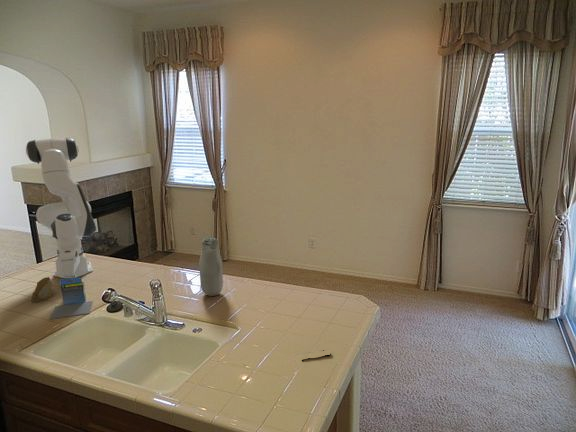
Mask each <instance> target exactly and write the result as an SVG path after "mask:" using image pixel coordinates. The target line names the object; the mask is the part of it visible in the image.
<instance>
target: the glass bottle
mask: <svg viewBox="0 0 576 432" xmlns="http://www.w3.org/2000/svg"><path fill="white" fill-rule="evenodd" d="M200 253H201V254H200V257H199V262H198V263H199V265H198V266H199V267H198V268H199V279H200V281H199V283H200V289H201V291H202V292H203V294H204V295H206V296H209V297H214V296H217V295H219V294H220V293H221V292H222V290H223V285H224V275H223V269H224V267H223V260H222V256H221V252H220V248H219V241H218V239H217V238H215V237H214V236H208V237H205V238H203V239H202V241H201V252H200Z"/></svg>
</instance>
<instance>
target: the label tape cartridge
mask: <svg viewBox="0 0 576 432" xmlns="http://www.w3.org/2000/svg"><path fill="white" fill-rule="evenodd" d="M59 283H60V284H59V285H60V290H61V296H62V303H63V304H62V305H67V304H75V303H82V302H87V301H86V300H87V297H86V296H87V295H86V289H85V282H83V280H82V276H79V277H76V278H61V279H59Z"/></svg>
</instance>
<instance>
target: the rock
mask: <svg viewBox="0 0 576 432" xmlns="http://www.w3.org/2000/svg"><path fill="white" fill-rule="evenodd" d="M51 296H54V290H53V287H52V280H51V278H50V276H47V277H43V278H41V279H40V280H39V281H37V282H36V287H35V289H34V291H33V293H32V295H31V300H30V302H31V303H36V302H37V303H38V302H40V301H42V300H45V299H47V298H49V297H51Z"/></svg>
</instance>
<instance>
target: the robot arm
mask: <svg viewBox="0 0 576 432" xmlns="http://www.w3.org/2000/svg"><path fill="white" fill-rule="evenodd" d="M79 151H80V149H79V145H78V143H77V142H76V140H75V139H74V138H71V137H65V138H62V137H52V138H45V139H37V140H36V139H33V140H29V141H28V142H27V144H26V147H25V154H26V156H27V158H28V159H29V161H31V162H32V163H37V164H38V165H39V164H40V163H41V165H40V168H41V175H42V179H43V182H44V185H45V186H46V187H47V190H48V191H49V192H50V194H52V195H54V196H58V197H60V199H61V200H62V201H61V202H60V201H59V202H55V203H54V202H53V203H47V204H45V205H43V206H39V207H38V209H37V211H36V213H35V215H36V217H35V218H36V220H37V221H38V223H39V224H40V225H41V226H43V227H46V228H47V229H49V230H50V231H51V232H52V235H51V236H52V238H53V239H55V241H56V242H55V243H56V247H57V249H56V254H57V258H56V260H55V261H54V262H55V272H53V277H58V278H61V279H69V278H78V277H82V276H85V275H86V274H89V273H92V272H94V269H93V267H92V263H91V261H88V259H87V257H86V255H85V253H84V248H83V245H82V240H81V238H85V237H92V236H93V234H95V233H96V231H97V224H96V221H95V219H94V218H93V215H92V207H91V204H90V202H89V201H87V200H86V196H85V194H84V192H83V189H82V187H81V185H80V184H79V182H76V181H74V180H73V178H72V177H71V171H70V166H69V163H68V160H69V162H72V161H73V160H75V159H76V158H77V157H78V155H79Z"/></svg>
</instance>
